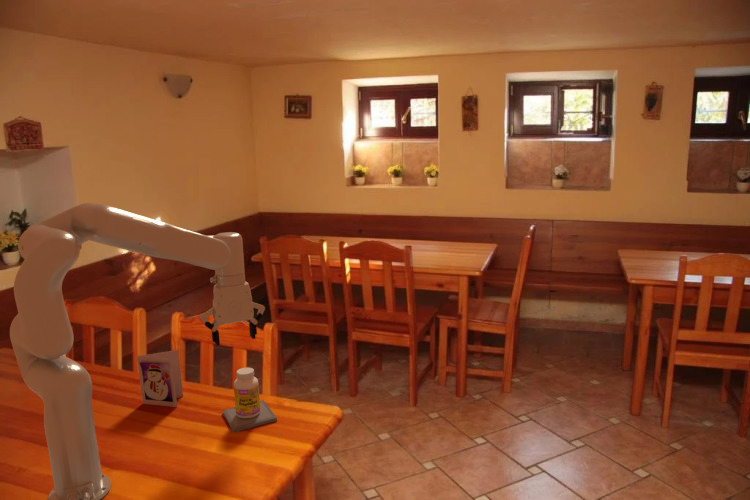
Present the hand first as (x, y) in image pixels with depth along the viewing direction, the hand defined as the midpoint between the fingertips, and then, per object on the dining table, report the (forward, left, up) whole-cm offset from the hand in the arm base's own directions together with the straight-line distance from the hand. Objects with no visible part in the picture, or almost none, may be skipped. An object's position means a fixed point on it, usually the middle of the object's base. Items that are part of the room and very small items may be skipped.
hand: (235, 340), depth 161 cm
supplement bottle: (-1, -2, -22) cm, 22 cm away
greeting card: (+22, +17, -23) cm, 36 cm away
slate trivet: (-1, -2, -23) cm, 23 cm away
